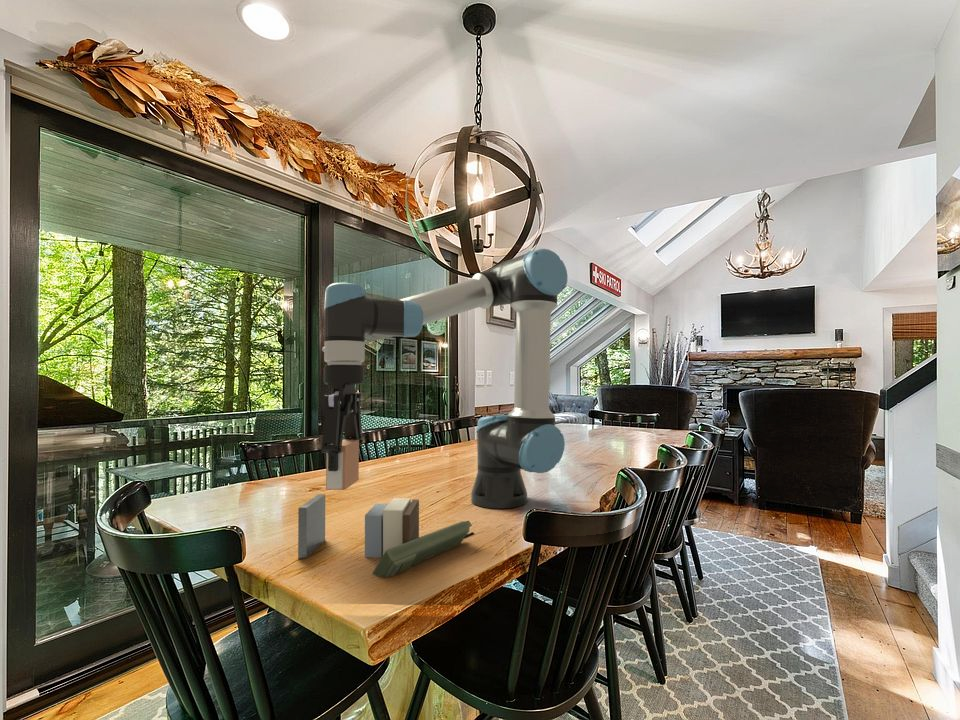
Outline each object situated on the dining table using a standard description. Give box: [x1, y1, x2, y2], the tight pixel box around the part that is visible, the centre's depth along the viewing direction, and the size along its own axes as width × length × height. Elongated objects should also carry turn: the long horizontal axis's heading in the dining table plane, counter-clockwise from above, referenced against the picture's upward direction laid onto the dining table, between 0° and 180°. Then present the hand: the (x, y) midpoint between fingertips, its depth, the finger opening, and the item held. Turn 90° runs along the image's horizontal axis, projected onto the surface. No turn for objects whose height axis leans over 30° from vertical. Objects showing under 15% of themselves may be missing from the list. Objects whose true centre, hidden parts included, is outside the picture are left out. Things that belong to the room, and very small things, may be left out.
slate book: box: [364, 503, 389, 558], centre depth 84 cm, size 3×8×8 cm, turn 178°
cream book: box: [382, 497, 412, 556], centre depth 84 cm, size 4×8×8 cm, turn 178°
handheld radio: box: [372, 520, 476, 578], centre depth 82 cm, size 7×3×25 cm
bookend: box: [297, 493, 326, 559], centre depth 85 cm, size 2×9×9 cm, turn 178°
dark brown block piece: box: [403, 498, 420, 544], centre depth 85 cm, size 21×10×9 cm, turn 88°
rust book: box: [325, 439, 360, 491], centre depth 86 cm, size 4×8×8 cm, turn 178°
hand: (343, 482), depth 86 cm, fingers closed on rust book, 8 cm apart
